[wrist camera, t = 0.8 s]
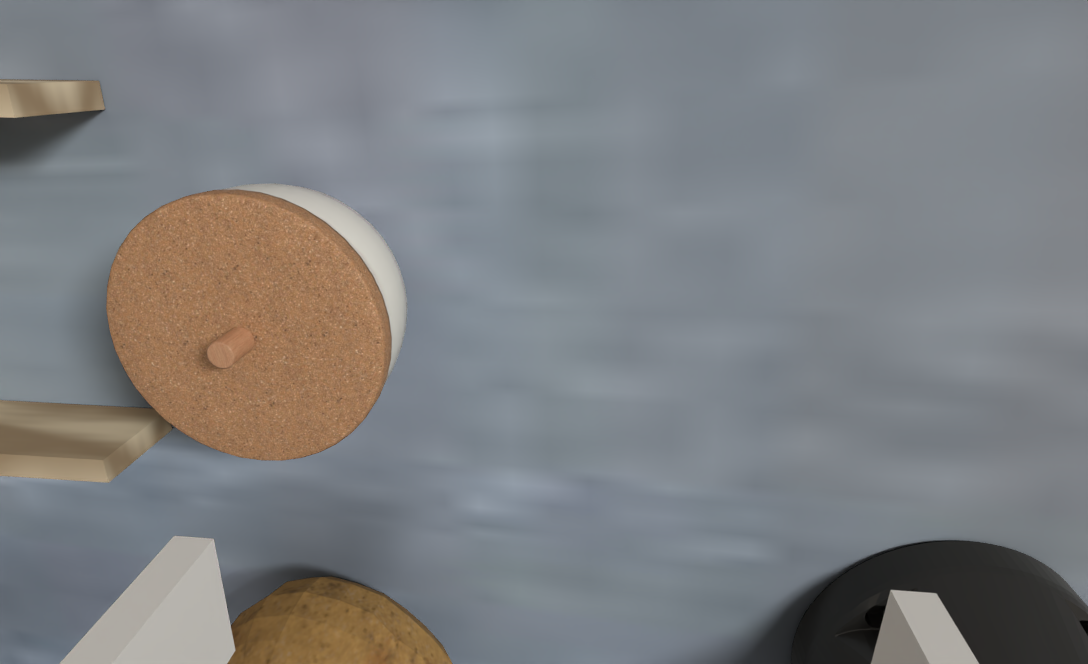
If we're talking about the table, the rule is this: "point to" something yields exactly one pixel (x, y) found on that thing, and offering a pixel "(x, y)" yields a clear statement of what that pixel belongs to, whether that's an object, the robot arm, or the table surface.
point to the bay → (68, 429)
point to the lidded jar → (258, 318)
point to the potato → (332, 628)
